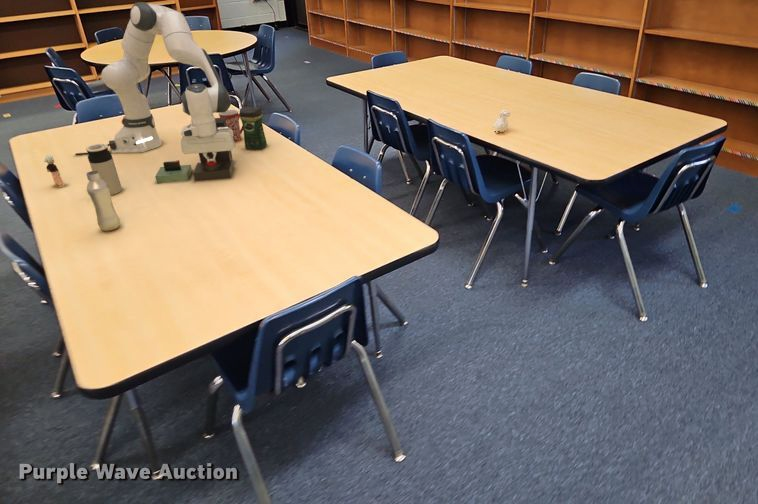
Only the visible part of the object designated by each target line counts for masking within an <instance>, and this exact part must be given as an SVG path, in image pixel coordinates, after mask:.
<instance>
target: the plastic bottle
mask: <svg viewBox="0 0 758 504" xmlns="http://www.w3.org/2000/svg"><path fill="white" fill-rule="evenodd" d="M85 175H86V178H87V181H88V183H87V185H86V192H87V194H88V197H89V198H90V200H91V202H92V204H93V207H94V210H95V215H96V221H97V226H98V227H99V229H100V230H102V231H105V232H109V231H113V230H117V229H118V228H119V227H120V224H121V219H120V218H119V217H120V216H119V215H118V213H117V212H116V210H115V206H114V204H113V201H112V195H110V188H109V185H108V184H107V183H106V182H105V181H104V180H102V179H101V175H100V173H99V171H92V170H91V171H88V172H86V173H85Z"/></svg>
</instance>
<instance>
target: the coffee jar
mask: <svg viewBox="0 0 758 504" xmlns="http://www.w3.org/2000/svg"><path fill="white" fill-rule="evenodd" d="M239 113H240V118H239V120H240V121H241V124H242V126H243V131H242V132H243V141H244V148H245V149H246V150H254V151H255V150H263V149H265V148H266V147H267V145H268V144H267V143H268V141H267V138H266V134H265V129H264V126H263V121H262V120H263V111H262V109H261V107H260V106H243V107H241V108H240V109H239Z"/></svg>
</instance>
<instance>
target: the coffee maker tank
mask: <svg viewBox="0 0 758 504" xmlns="http://www.w3.org/2000/svg"><path fill="white" fill-rule="evenodd" d="M214 118H215V122H216V127H227V126H226V117H224V118H220V117H214ZM207 155H208V156H209V157H213V156H214V154H213V153H212V152H207ZM198 157H199V161H200V163H203V162H207V159H206V158H205V157H204V156H203V153H198ZM215 160H216V161H229V160H232V163H233V164H234V159H233V154H232V151H219V152H217V154H216V156H215Z"/></svg>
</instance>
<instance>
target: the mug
mask: <svg viewBox="0 0 758 504" xmlns="http://www.w3.org/2000/svg"><path fill="white" fill-rule="evenodd" d="M218 117H219V118H224V117H226V126H227V127H228V128H231V129H232V130H233V134H234V136H233V139H234V142H235V143H237V142H240V141H241V140H242V133H243V132H244V131H243V125H242V126H240V112H239V110H237V109H228V110H227V111H226V112H221V113H218ZM240 127H241V128H240Z"/></svg>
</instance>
